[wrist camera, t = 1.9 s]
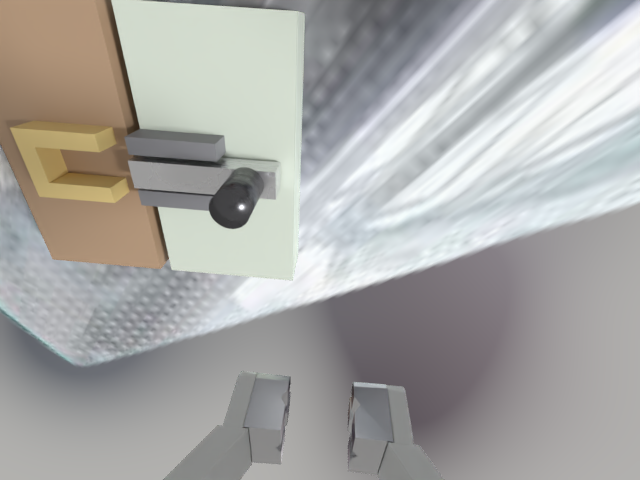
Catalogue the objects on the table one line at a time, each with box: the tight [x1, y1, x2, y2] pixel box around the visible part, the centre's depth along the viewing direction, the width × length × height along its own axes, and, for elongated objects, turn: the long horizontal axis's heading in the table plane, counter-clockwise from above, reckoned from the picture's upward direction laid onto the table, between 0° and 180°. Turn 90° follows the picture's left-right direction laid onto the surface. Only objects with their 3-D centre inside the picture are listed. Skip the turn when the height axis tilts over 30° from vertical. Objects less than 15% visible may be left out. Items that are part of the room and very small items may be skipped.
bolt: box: [128, 155, 281, 229], centre depth 22 cm, size 10×2×6 cm, turn 87°
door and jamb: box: [0, 0, 305, 281], centre depth 26 cm, size 22×20×6 cm
